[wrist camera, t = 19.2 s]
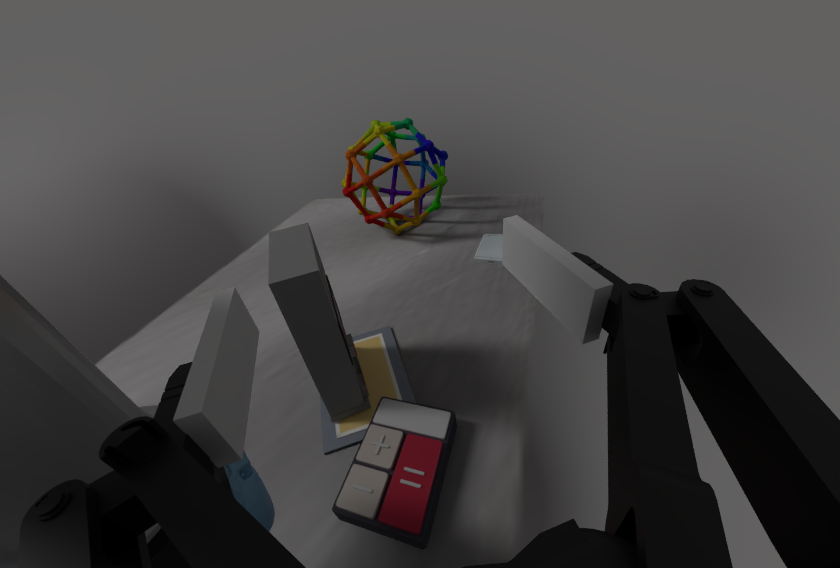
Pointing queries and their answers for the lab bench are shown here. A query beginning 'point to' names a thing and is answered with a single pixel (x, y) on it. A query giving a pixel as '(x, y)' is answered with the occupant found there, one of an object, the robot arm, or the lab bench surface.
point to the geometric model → (394, 174)
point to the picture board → (369, 387)
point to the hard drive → (490, 249)
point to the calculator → (398, 471)
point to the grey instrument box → (316, 321)
